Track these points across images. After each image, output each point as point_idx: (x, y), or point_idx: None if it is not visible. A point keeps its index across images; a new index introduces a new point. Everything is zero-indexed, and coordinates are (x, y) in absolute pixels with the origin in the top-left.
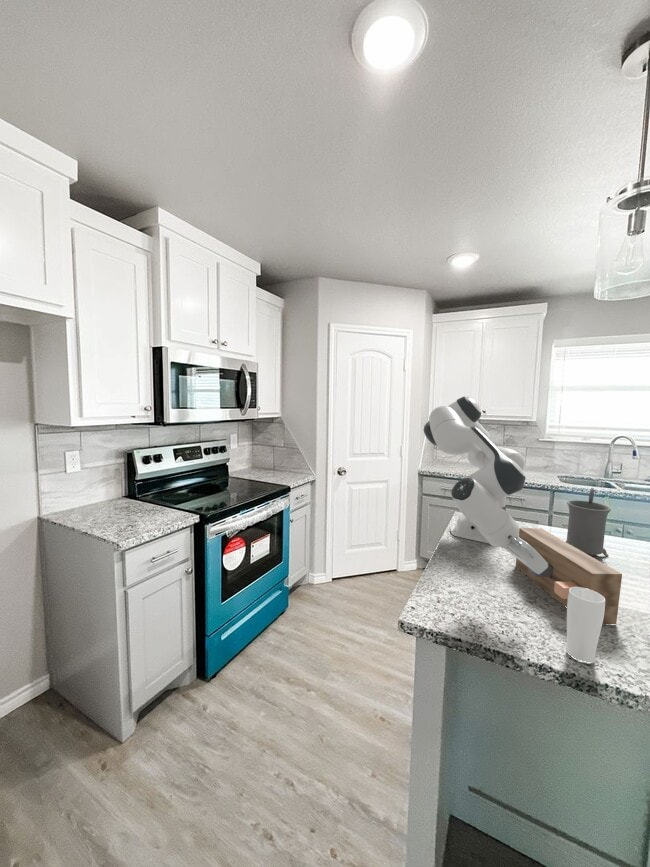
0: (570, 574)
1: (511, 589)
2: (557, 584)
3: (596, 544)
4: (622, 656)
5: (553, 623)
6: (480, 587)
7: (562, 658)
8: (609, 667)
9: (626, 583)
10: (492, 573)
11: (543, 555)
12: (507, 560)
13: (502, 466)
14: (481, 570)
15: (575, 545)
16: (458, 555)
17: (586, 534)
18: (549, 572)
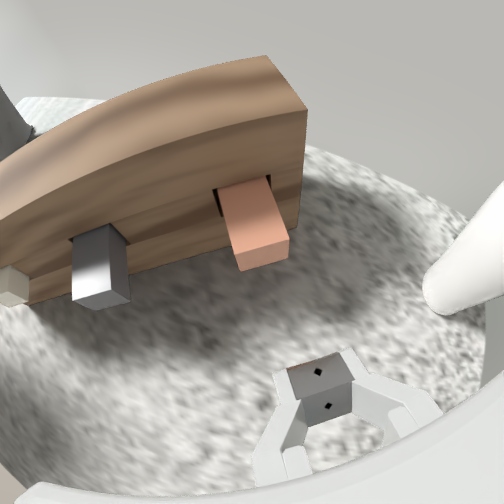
0: (198, 181)
1: (142, 377)
2: (252, 251)
3: (19, 123)
4: (396, 204)
5: (321, 311)
6: (159, 471)
7: (458, 328)
8: (443, 244)
9: None
10: (64, 393)
11: (52, 232)
12: (7, 313)
13: None
14: (57, 418)
15: (5, 156)
16: (7, 437)
17: (1, 125)
18: (118, 243)
